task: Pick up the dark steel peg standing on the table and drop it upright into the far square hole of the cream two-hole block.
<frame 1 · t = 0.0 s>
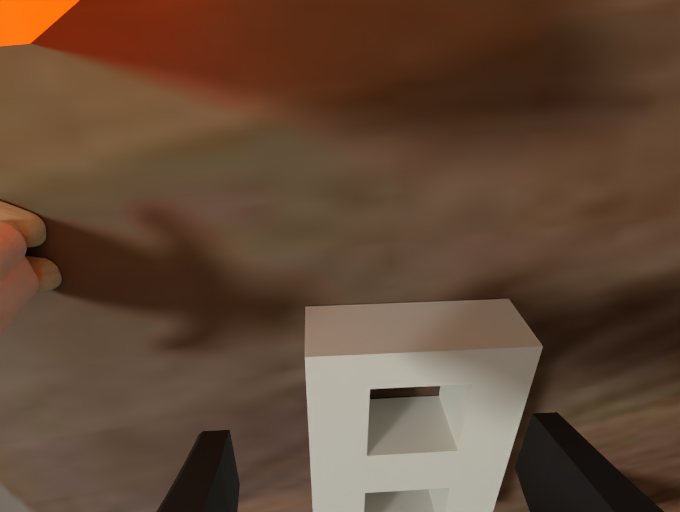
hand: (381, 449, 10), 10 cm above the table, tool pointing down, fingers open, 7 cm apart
hole block: (397, 416, 25), on the table
grandmother figurine: (24, 257, 18), on the table
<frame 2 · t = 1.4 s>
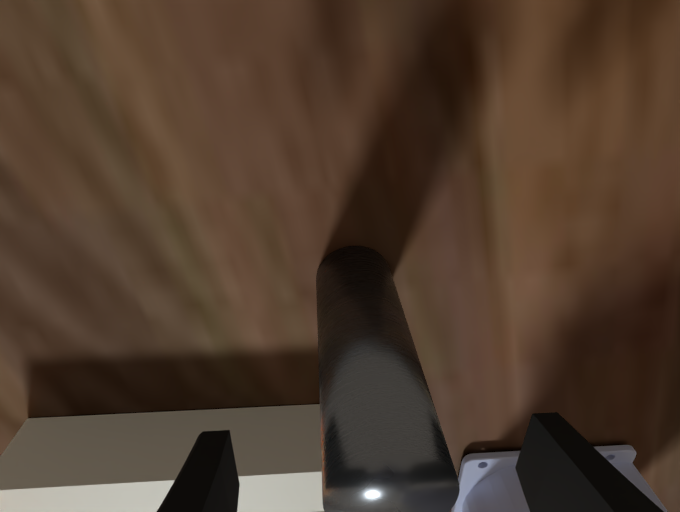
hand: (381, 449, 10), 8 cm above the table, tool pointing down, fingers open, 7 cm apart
hole block: (218, 475, 23), on the table
peg: (353, 278, 17), on the table
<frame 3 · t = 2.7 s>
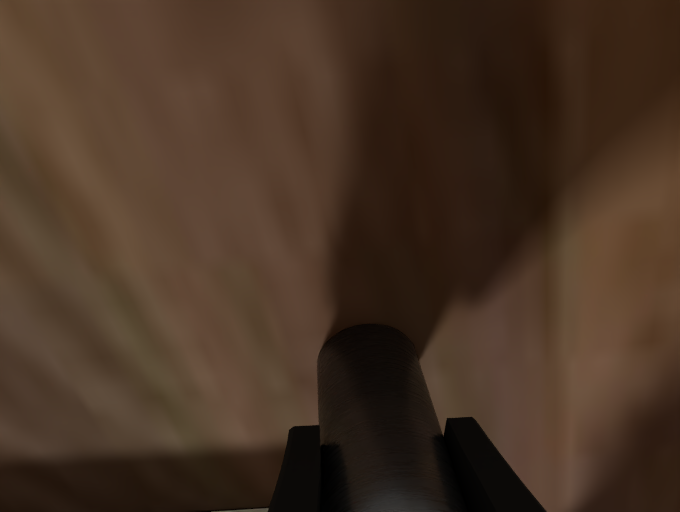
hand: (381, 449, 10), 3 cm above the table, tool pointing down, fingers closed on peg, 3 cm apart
peg: (367, 363, 13), on the table, touching gripper
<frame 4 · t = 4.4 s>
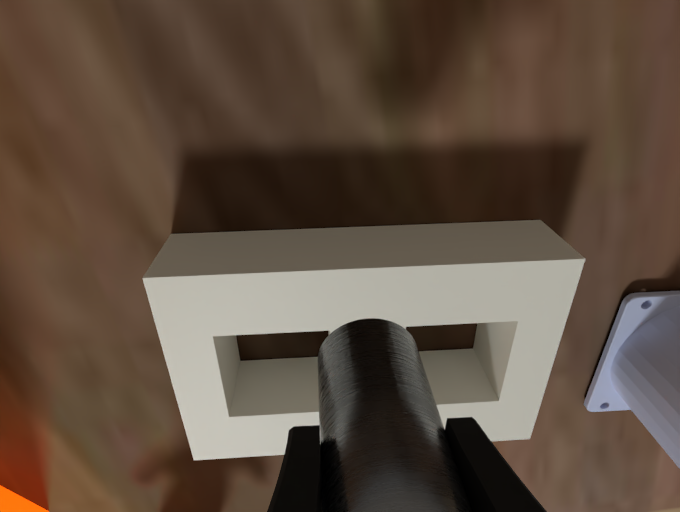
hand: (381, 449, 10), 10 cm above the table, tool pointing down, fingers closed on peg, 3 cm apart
hole block: (358, 319, 21), on the table
peg: (367, 358, 13), point 7 cm above the table, touching gripper
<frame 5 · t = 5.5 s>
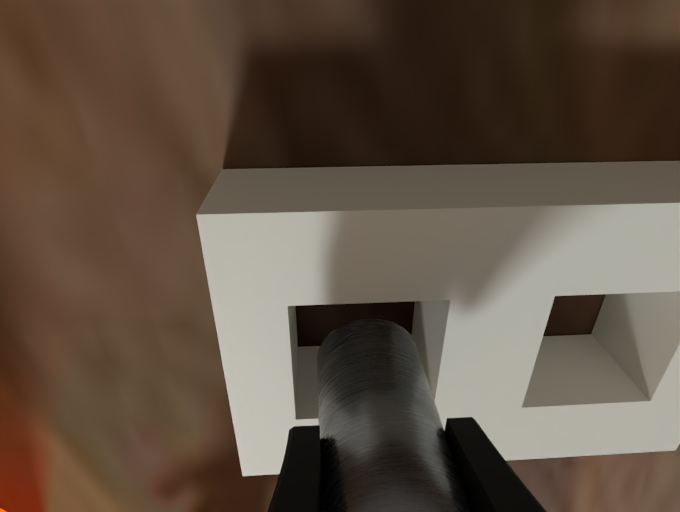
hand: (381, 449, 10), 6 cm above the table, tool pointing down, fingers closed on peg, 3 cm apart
hole block: (454, 294, 16), on the table
peg: (367, 358, 13), point 3 cm above the table, touching gripper
when the fingers open (4 cm above the table, at t = 6.2 s): peg drops 1 cm, resting in hole block.
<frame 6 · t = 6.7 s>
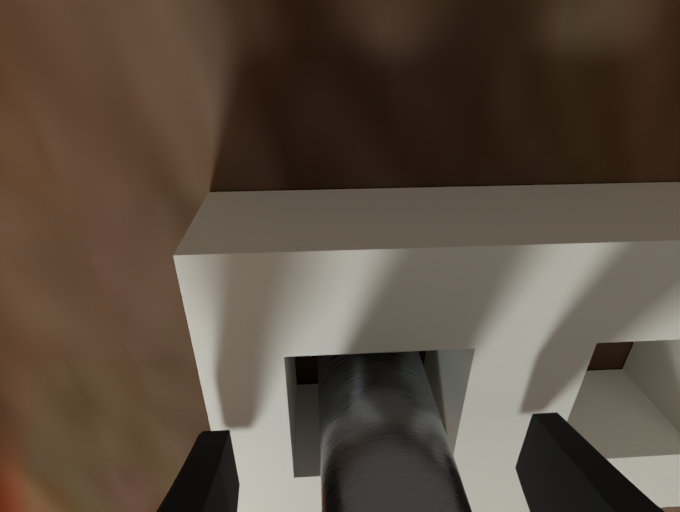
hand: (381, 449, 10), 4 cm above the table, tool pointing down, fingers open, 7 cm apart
hole block: (472, 327, 14), on the table
peg: (362, 326, 14), resting in hole block
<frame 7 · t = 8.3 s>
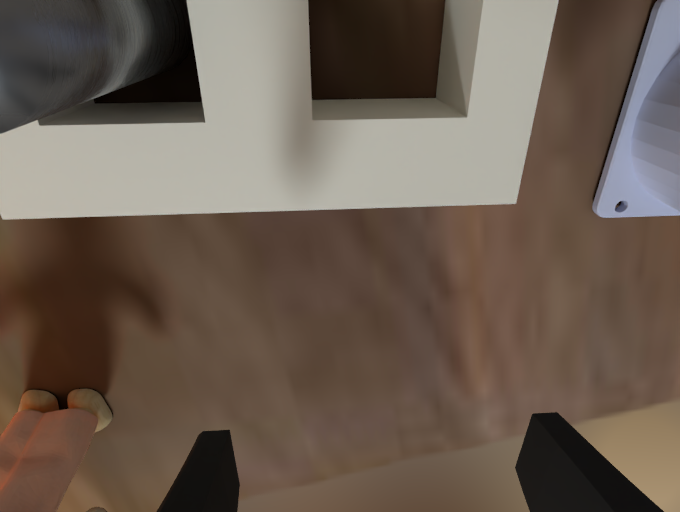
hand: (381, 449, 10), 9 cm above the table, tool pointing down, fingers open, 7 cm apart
hole block: (263, 28, 14), on the table
grandmother figurine: (78, 405, 22), on the table
peg: (145, 22, 14), resting in hole block
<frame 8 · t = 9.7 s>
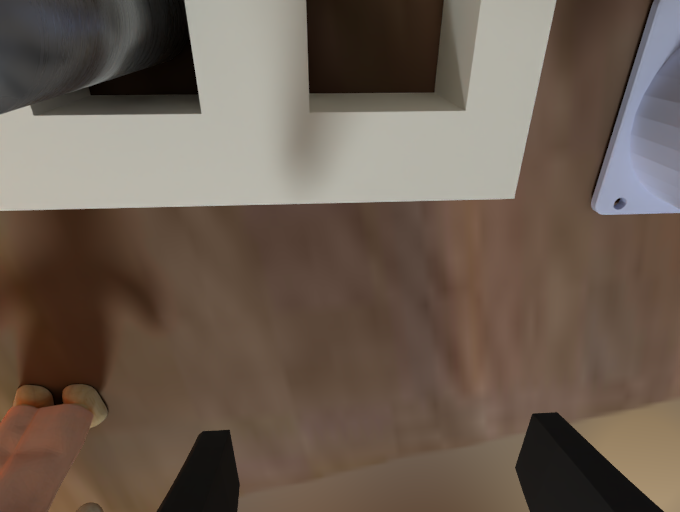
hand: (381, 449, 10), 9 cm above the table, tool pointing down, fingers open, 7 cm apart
hole block: (260, 20, 14), on the table
grandmother figurine: (73, 401, 22), on the table
peg: (141, 13, 14), resting in hole block
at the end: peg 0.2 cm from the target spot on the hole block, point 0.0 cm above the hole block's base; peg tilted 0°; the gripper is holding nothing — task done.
